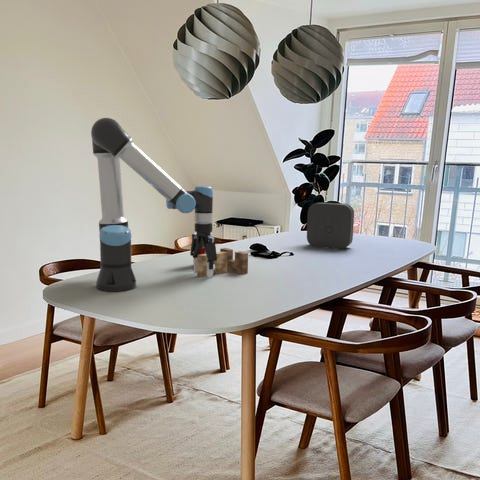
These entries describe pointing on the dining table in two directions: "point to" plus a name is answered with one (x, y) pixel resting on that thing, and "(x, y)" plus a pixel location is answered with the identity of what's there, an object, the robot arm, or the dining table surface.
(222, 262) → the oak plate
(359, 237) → the dining table surface
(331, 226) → the speaker
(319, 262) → the dining table surface
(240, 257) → the wooden notched block
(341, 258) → the dining table surface
